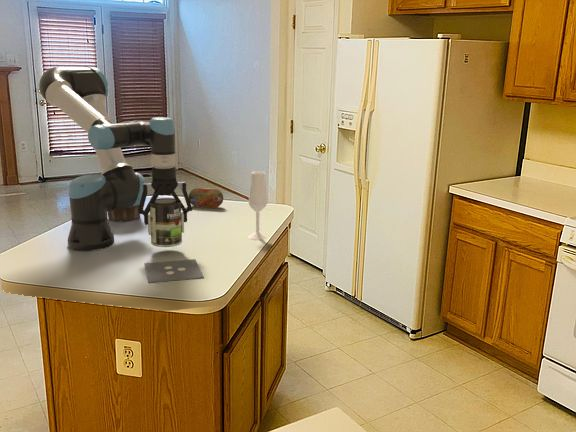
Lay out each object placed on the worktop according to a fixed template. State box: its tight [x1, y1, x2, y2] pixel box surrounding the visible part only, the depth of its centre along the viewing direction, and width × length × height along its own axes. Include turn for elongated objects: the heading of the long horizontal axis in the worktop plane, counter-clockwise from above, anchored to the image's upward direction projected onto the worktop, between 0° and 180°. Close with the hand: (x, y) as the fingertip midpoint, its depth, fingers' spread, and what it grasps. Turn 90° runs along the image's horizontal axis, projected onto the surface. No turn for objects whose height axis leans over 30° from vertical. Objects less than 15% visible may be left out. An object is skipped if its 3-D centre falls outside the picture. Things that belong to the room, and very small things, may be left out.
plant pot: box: [107, 205, 141, 223], centre depth 227 cm, size 16×16×16 cm
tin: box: [188, 187, 224, 209], centre depth 248 cm, size 15×3×8 cm, turn 80°
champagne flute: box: [248, 170, 268, 241], centre depth 206 cm, size 7×7×24 cm
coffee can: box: [148, 197, 183, 248], centre depth 189 cm, size 10×10×14 cm
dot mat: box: [144, 258, 205, 284], centre depth 175 cm, size 16×16×1 cm
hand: (166, 232), depth 190 cm, fingers closed on coffee can, 10 cm apart
